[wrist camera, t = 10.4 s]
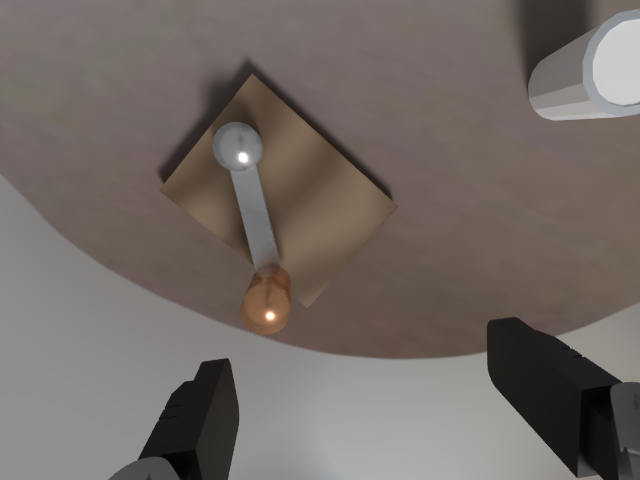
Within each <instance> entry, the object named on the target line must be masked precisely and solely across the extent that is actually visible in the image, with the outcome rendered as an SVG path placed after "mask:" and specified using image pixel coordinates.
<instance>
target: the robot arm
mask: <svg viewBox="0 0 640 480" xmlns="http://www.w3.org/2000/svg"><path fill="white" fill-rule="evenodd" d="M487 363H488V364H487V365H488V372H489V375H490V378H491V380H492V382H493V384H494V386H495V387H496V388H497V389H498V390H499V392H500V393H501V394H502V395H503V396H504V397H505V398H506V399H507V400H508V402H509V403H510V404H511V405H512V406H513V407H514V408H515V409H516V411H517V412H518V413H519V414H520V415H521V416H522V417H523V418H524V419H525V421H526V422H527V423H528V424H529V425H530V426H531V427H532V428H533V429H534V430H535V432H536V433H537V434H538V435H539V436H540V437H541V438H542V439H543V441H544V442H545V443H546V444H547V445H548V446H549V447H550V448H551V449H552V450H553V452H554V453H555V454H556V455H557V456H558V457H559V458H560V459H561V461H562V462H563V463H564V464H565V465H566V466H567V467H568V468H569V469H570V471H571V472H572V473H573V474H574V475H575V476H576V477H577V478H582V477H587V476H593V475H600V476H601V477H602V478H603V479H604V480H640V383H638V382H624V383H623V382H622V381H620V380H619V379H617V378H616V377H614V376H612V375H611V374H609V373H608V372H607V371H605V370H604V369H602V368H601V367H599V366H598V365H596V364H595V363H593V362H591V361H590V360H589V359H587V358H586V357H582V355H581V354H579V353H578V352H577V351H575V350H574V349H570V347H569V346H568V345H566V344H565V343H563V342H562V341H560V340H559V339H557V338H556V337H553V336H551V335H548V334H546V333H543V332H540V331H538V330H534V329H533V328H531V327H530V326H528V325H527V324H525V323H524V322H523V321H521V320H520V319H518V318H516V317H510V318H503V319H496V320H490V321H489V322H488V325H487ZM238 426H239V406H238V400H237V395H236V389H235V384H234V379H233V374H232V369H231V364H230V361H229V359H228V358H226V359H218V360H212V361H205V362H202V363H201V365H200V368H199V370H198V372H197V374H196V376H195V379H194V380H193V381H186V382H184V383H183V384H182V385H181V386H180V387H179V388H178V389H177V390H176V391H174V392H173V393H172V394H171V396H170V398H169V400H168V402H167V404H166V406H165V410H163V412H162V414H161V416H160V418H159V421H158V422H157V423H156V425H155V427H154V429H153V431H152V433H151V435H150V437H149V439H148V441H147V443H146V445H145V447H144V449H143V451H142V452H141V454H140V456H139V458H138V460H137V461H135V462H132V463H131V464H129V465H127V466H125V467H123V468H122V469H121V470H119V471H118V472H117V473H115V474H114V475H113V476H112V477H111V478H110V479H109V480H228V476H229V471H230V466H231V461H232V456H233V451H234V446H235V441H236V435H237V431H238Z"/></svg>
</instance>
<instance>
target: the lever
mask: <svg viewBox="0 0 640 480" xmlns="http://www.w3.org/2000/svg"><path fill="white" fill-rule="evenodd" d="M213 153H214V155H215V158H216V159H217V161H218V162H219V163H220V164H221V165H222V166H223V167H224V168H226V169H228V170H230V172H231V176H232V180H233V184H234V188H235V192H236V196H237V200H238V203H239V207H240V211H241V215H242V219H243V223H244V227H245V231H246V235H247V239H248V243H249V247H250V251H251V255H252V259H253V263H254V266H255V270H256V272H255V274H254V275H253V278H252V280H251V283H250V285H249V287H248V290H247V292H246V295H245V297H244V299H243V302H242V304H241V308H240V315H241V319H242V321H243V323H244V324H245V326H246V327H247V328H248V329H249V330H251V331H252V332H254V333H257V334H262V335H268V334H273V333H275V332H278V331H279V330H281V329H282V328H283V327H284V326H285V324H286V323H287V321H288V318H289V313H290V296H291V279H290V276H289V274H288V273H287V271H286V270H285V269H283V268H282V266H281V262H280V258H279V253H278V249H277V245H276V241H275V237H274V232H273V228H272V224H271V220H270V216H269V211H268V207H267V203H266V199H265V195H264V190H263V186H262V182H261V178H260V173H259V169H258V164H259V163H260V162H261V160H262V158H263V155H264V144H263V141H262V139H261V137H260V135H259V134H258V133H257V132H256V131H255V130H254V129H253V128H252V127H250V126H249V125H247V124H245V123H241V122H230V123H227V124H225V125H223V126H222V127H221V128H220V129H219V130H218V131H217V132H216V134H215V136H214V139H213Z"/></svg>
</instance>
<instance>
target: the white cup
mask: <svg viewBox="0 0 640 480" xmlns="http://www.w3.org/2000/svg"><path fill="white" fill-rule="evenodd" d="M528 96H529V100H530V103H531V105H532V107H533V109H534V110H535V111H536V112H537V113H538V114H539V115H541V116H542V117H543V118H547V119H550V120H572V119H591V118H609V117H623V116H628V115H634V114H639V113H640V9H636V10H630V11H625V12H620V13H618V14H617V15H615V16H613V17H612V18H610V19H608V20H607V21H605V22H603V23H602V24H600V25H598V26H597V27H595V28H593V29H592V30H590V31H589V32H587V33H585V34H584V35H582V36H580V37H579V38H577V39H575V40H574V41H572V42H570V43H569V44H567V45H565V46H564V47H562V48H560V49H559V50H557V51H555V52H554V53H552V54H551V55H549V56H547V57H546V58H544V59H543V60H541V61H540V62H539V64H538V65H537V66H536V68H535V69H534V70H533V72H532V74H531V77H530V80H529V84H528Z"/></svg>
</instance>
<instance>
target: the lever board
mask: <svg viewBox="0 0 640 480" xmlns="http://www.w3.org/2000/svg"><path fill="white" fill-rule="evenodd" d="M230 122H241V123H245V124H247V125H249V126H250V127H252V128H253V129H254V130H255V131H256V132H257V133H258V134H259V135H260V137H261V139H262V141H263V144H264V155H263V158H262V160H261V162H260V163H259V164H258V169H259V173H260V178H261V182H262V186H263V190H264V195H265V199H266V203H267V207H268V211H269V216H270V220H271V224H272V228H273V232H274V237H275V241H276V245H277V249H278V253H279V258H280V262H281V266H282V268H283V269H285V270H286V271H287V273H288V274H289V276H290V279H291V296H293V297H294V298H295V299H297V300H298V301H299V302H300V303H302V304H303V305H304V306H305V307H307V308H308V307H309V306H310V305H311V304H312V303H313V301H314V300H315V299H316V298H317V297H318V296H319V295H320V294H321V292H322V291H323V290H324V289H325V288H326V287H327V286H328V285H329V284H330V282H331V281H332V280H333V279H334V278H335V277H336V276H337V275H338V273H339V272H340V271H341V270H342V269H343V268H344V267H345V266H346V265H347V263H348V262H349V261H350V260H351V259H352V258H353V257H354V256H355V254H356V253H357V252H358V251H359V250H360V249H361V248H362V247H363V246H364V244H365V243H366V242H367V241H368V240H369V239H370V238H371V237H372V236H373V234H374V233H375V232H376V231H377V230H378V229H379V228H380V227H381V225H382V224H383V223H384V222H385V221H386V220H387V219H388V218H389V217H390V215H391V214H392V213H393V212H394V211H395V210H396V209H397V208H398V206H397V205H396V204H395V203H394V202H393V201H392V200H391V199H390V198H389V197H387V196H386V195H385V194H384V193H383V192H382V191H381V190H380V189H379V188H378V187H376V186H375V185H374V184H373V183H372V182H371V181H370V180H369V179H368V178H367V177H365V176H364V175H363V174H362V173H361V172H360V171H359V170H358V169H357V168H356V167H354V166H353V165H352V164H351V163H350V162H349V161H348V160H347V159H346V158H345V157H343V156H342V155H341V154H340V153H339V152H338V151H337V150H336V149H335V148H334V147H332V146H331V145H330V144H329V143H328V142H327V141H326V140H325V139H324V138H323V137H322V136H320V135H319V134H318V133H317V132H316V131H315V130H314V129H313V128H312V127H311V126H309V125H308V124H307V123H306V122H305V121H304V120H303V119H302V118H301V117H300V116H298V115H297V114H296V113H295V112H294V111H293V110H292V109H291V108H290V107H289V106H287V105H286V104H285V103H284V102H283V101H282V100H281V99H280V98H279V97H278V96H276V95H275V94H274V93H273V92H272V91H271V90H270V89H269V88H268V87H267V86H265V85H264V84H263V83H262V82H261V81H260V80H259V79H258V78H257V77H256V76H255V75H253V74H251V76H250V77H249V78H248V79H247V81H246V82H245V83H244V84H243V86H242V87H241V88H240V89H239V91H238V92H237V93H236V95H235V96H234V97H233V98H232V100H231V101H230V102H229V103H228V105H227V106H226V107H225V108H224V110H223V111H222V112H221V113H220V115H219V116H218V117H217V118H216V120H215V121H214V122H213V123H212V125H211V126H210V127H209V128H208V130H207V131H206V132H205V133H204V135H203V136H202V137H201V138H200V140H199V141H198V142H197V143H196V145H195V146H194V147H193V148H192V150H191V151H190V152H189V153H188V155H187V156H186V157H185V158H184V160H183V161H182V162H181V163H180V165H179V166H178V167H177V168H176V170H175V171H174V172H173V173H172V175H171V176H170V177H169V178H168V180H167V181H166V182H165V183H164V185H163V186H162V187H161V189H160V190H159V191H161V192H162V193H163V194H164V195H166V196H167V197H168V198H169V199H171V200H172V201H173V202H174V203H176V204H177V205H178V206H179V207H181V208H182V209H183V210H185V211H186V212H187V213H188V214H190V215H191V216H192V217H193V218H195V219H196V220H197V221H198V222H200V223H201V224H202V225H203V226H205V227H206V228H207V229H208V230H210V231H211V232H212V233H213V234H215V235H216V236H217V237H218V238H220V239H221V240H222V241H224V242H225V243H226V244H227V245H229V246H230V247H231V248H232V249H234V250H235V251H236V252H237V253H239V254H240V255H241V256H242V257H244V258H245V259H246V260H247V261H249V262H250V263H251V264H252V265H254V263H253V259H252V255H251V251H250V247H249V243H248V239H247V235H246V231H245V227H244V223H243V219H242V215H241V211H240V207H239V203H238V200H237V196H236V192H235V188H234V184H233V180H232V176H231V172H230V170H228V169H226V168H224V167H223V166H222V165H221V164H220V163H219V162H218V161H217V159H216V158H215V155H214V153H213V139H214V136H215V134H216V132H217V131H218V130H219V129H220V128H221V127H222V126H223V125H225V124H227V123H230Z"/></svg>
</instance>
